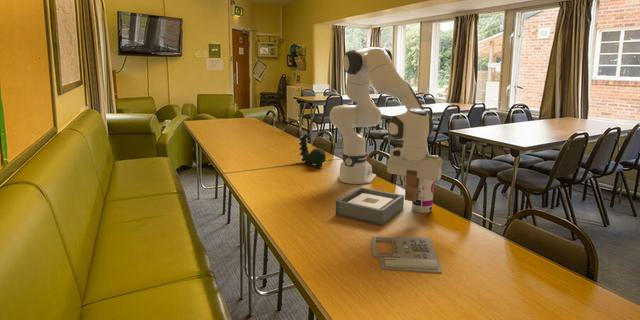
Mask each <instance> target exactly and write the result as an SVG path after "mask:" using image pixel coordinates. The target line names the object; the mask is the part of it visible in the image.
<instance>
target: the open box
mask: <svg viewBox="0 0 640 320" xmlns="http://www.w3.org/2000/svg"><path fill="white" fill-rule="evenodd" d="M404 202H405V194H398V193H394V192H387V191H383V190H376V189H373V188H372V189H371V188H365V187H362V186H361V187H358V188H357V189H355V190H353V191H352V192H350V193H348V194H346V195H344V196H343V197H341V198H339V199H337V200H335V216H336V217H342V218H346V219H350V220H355V221H358V222H362V223H363V222H364V223H366V224H370V225H376V226H380V227H383V226H384V225H385V224H386V223H388V222H389V221H390V220H392V218H394V217H395V216H396V215H397V214H399V213H401V211H402V210H404V204H405V203H404Z"/></svg>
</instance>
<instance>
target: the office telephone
mask: <svg viewBox="0 0 640 320" xmlns="http://www.w3.org/2000/svg"><path fill="white" fill-rule="evenodd" d="M376 242H381V243H382V242H383V243H391V245H392V248H393V249H392V250H393V252H379V251H377V243H376ZM371 248H372V249H371V250H372V251H371V253H372V257H373V258H374V259H375V258H376V259H378V258H380V261H379V262H380V269H382V270H386V271H387V270H388V271H389V270H390V271H403V272H412V273H413V272H416V273H430V274H442V273H443V271H442V268H441V265H440V262H439V260H438V257H437V254H436V252H435V249H434V247H433V244H432V240H431V238H430V237H421V236H419V237H417V236H396V237H393V236H392V237H390V236H375V235H374V236H373V235H372V237H371Z"/></svg>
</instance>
